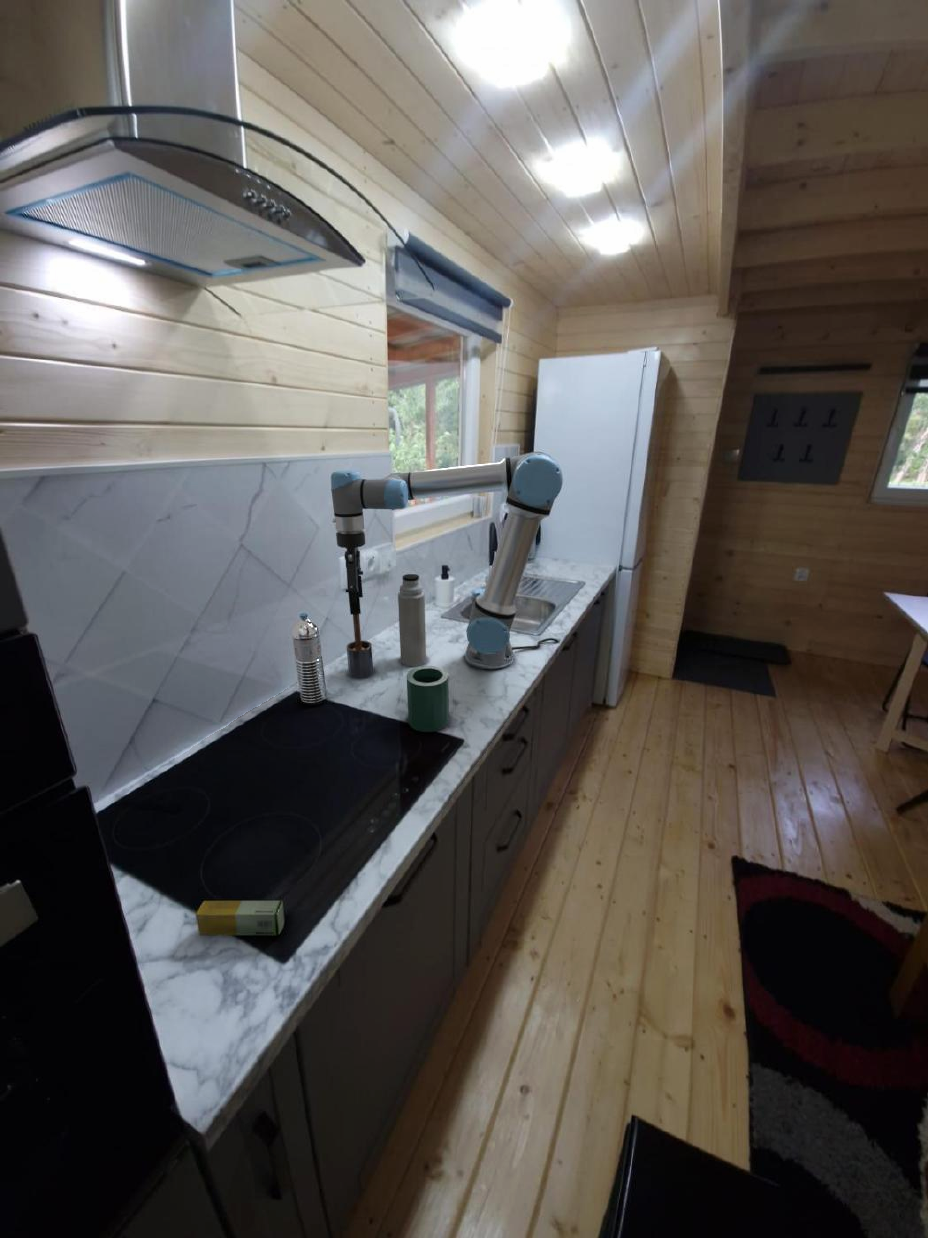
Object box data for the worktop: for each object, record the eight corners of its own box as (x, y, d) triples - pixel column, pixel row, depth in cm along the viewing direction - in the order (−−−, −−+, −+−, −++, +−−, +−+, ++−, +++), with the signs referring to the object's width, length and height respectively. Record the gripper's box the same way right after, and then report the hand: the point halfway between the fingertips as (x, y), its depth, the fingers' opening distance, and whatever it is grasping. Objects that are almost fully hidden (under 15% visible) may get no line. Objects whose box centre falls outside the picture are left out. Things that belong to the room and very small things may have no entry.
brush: (366, 667, 150) (360, 589, 141) (366, 672, 147) (360, 593, 138) (354, 667, 150) (348, 589, 140) (353, 673, 147) (347, 593, 137)
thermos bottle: (398, 656, 159) (394, 573, 148) (422, 653, 161) (420, 570, 150) (403, 667, 152) (399, 580, 141) (428, 664, 154) (427, 578, 144)
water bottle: (319, 708, 131) (309, 620, 121) (296, 705, 132) (283, 618, 122) (331, 694, 137) (322, 610, 127) (308, 692, 138) (297, 608, 128)
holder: (373, 666, 153) (371, 639, 149) (373, 677, 146) (371, 650, 142) (349, 667, 152) (347, 641, 148) (348, 679, 145) (345, 651, 141)
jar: (446, 708, 131) (445, 664, 126) (450, 730, 122) (450, 684, 117) (407, 711, 130) (405, 667, 125) (409, 733, 120) (407, 687, 115)
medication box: (286, 920, 76) (284, 899, 74) (280, 936, 73) (278, 915, 72) (206, 920, 75) (202, 899, 74) (197, 936, 73) (193, 915, 71)
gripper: (339, 522, 143) (346, 591, 151) (331, 542, 121) (339, 622, 129) (366, 521, 144) (371, 590, 152) (362, 541, 122) (369, 620, 130)
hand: (356, 605), depth 140 cm, fingers open, 13 cm apart
